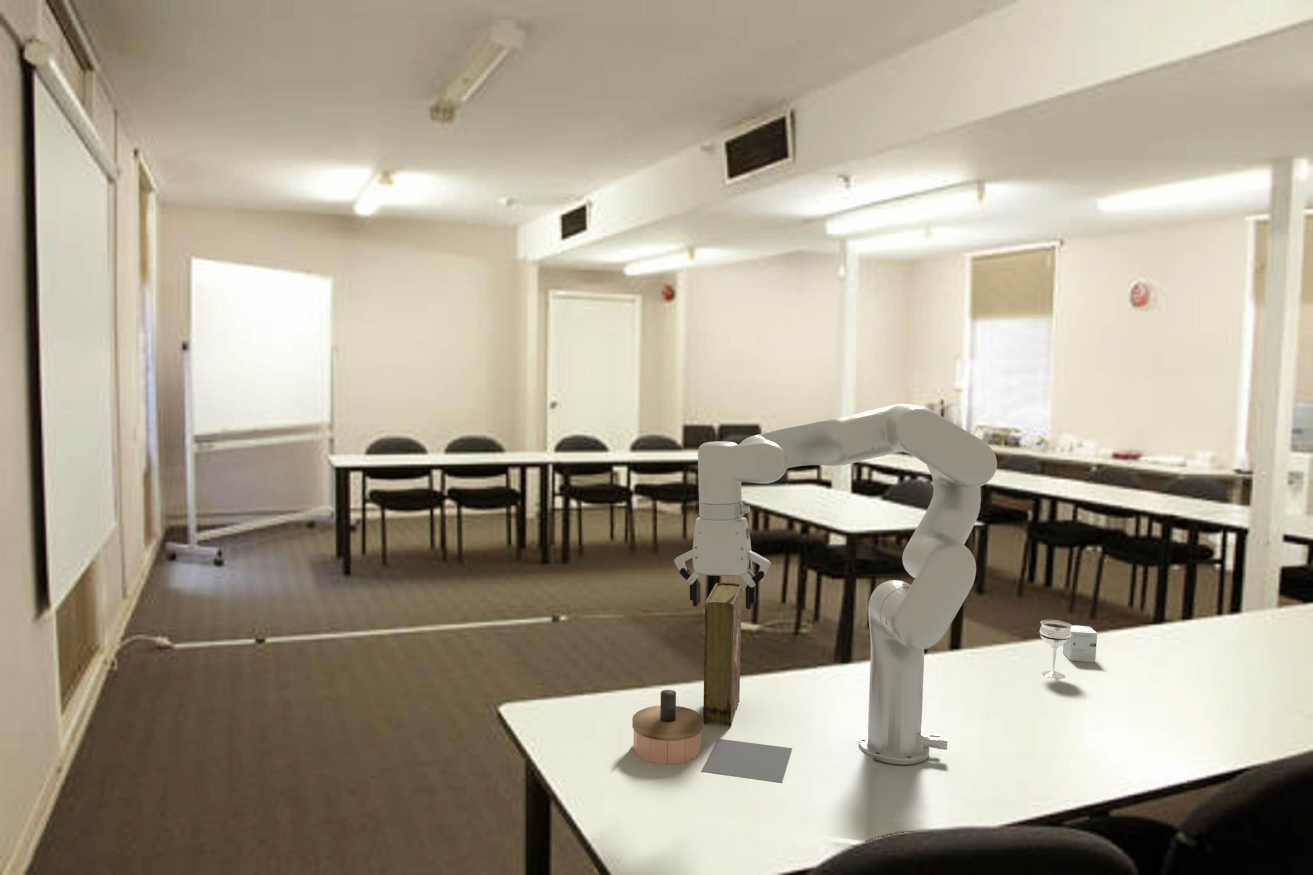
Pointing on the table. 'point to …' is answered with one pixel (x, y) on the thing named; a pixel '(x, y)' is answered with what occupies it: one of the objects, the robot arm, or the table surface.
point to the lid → (668, 720)
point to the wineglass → (1055, 640)
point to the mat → (748, 760)
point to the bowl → (667, 749)
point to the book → (722, 653)
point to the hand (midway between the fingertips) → (722, 605)
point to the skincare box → (1081, 644)
